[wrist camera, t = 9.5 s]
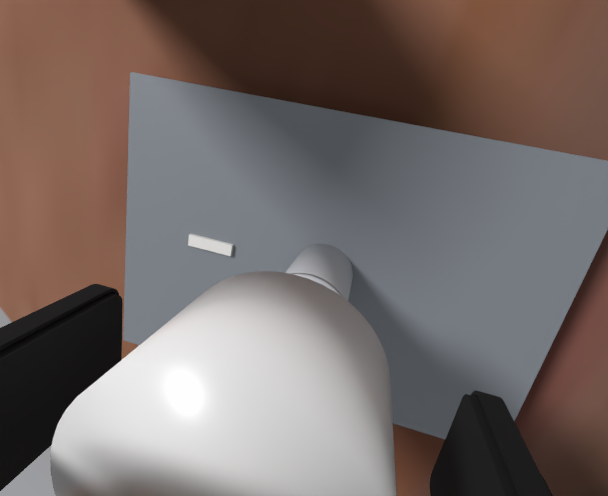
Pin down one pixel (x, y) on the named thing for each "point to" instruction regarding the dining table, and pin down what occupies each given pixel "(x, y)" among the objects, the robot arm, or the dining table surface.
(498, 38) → the dining table surface
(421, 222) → the post stand
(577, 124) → the dining table surface
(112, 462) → the white rounded lump
